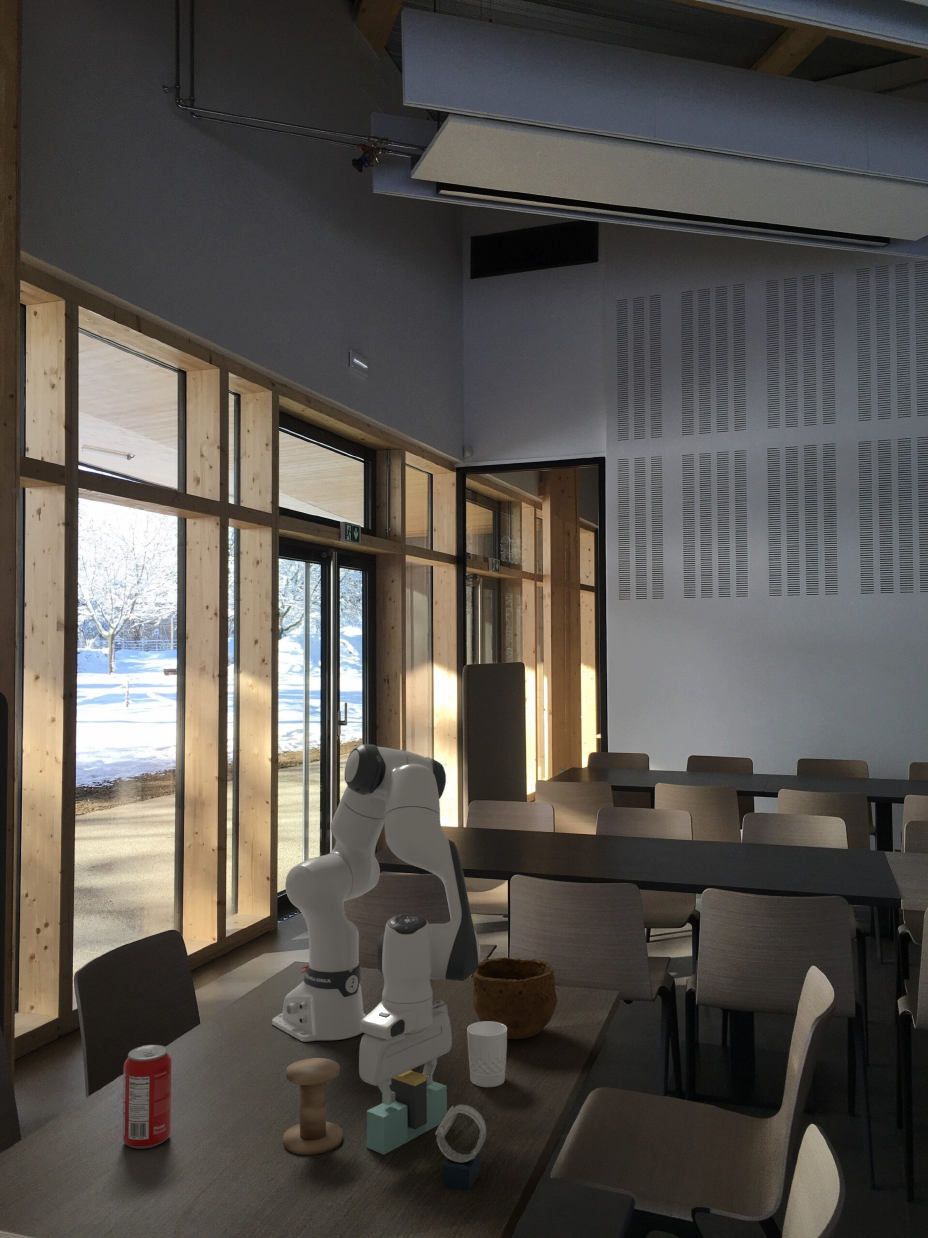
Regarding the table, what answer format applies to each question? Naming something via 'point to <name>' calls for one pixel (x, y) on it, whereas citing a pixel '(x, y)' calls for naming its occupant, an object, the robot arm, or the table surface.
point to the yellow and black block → (412, 1096)
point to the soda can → (147, 1097)
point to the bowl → (515, 994)
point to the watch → (460, 1151)
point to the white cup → (487, 1053)
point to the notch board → (403, 1120)
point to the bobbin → (312, 1108)
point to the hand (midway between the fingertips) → (407, 1094)
